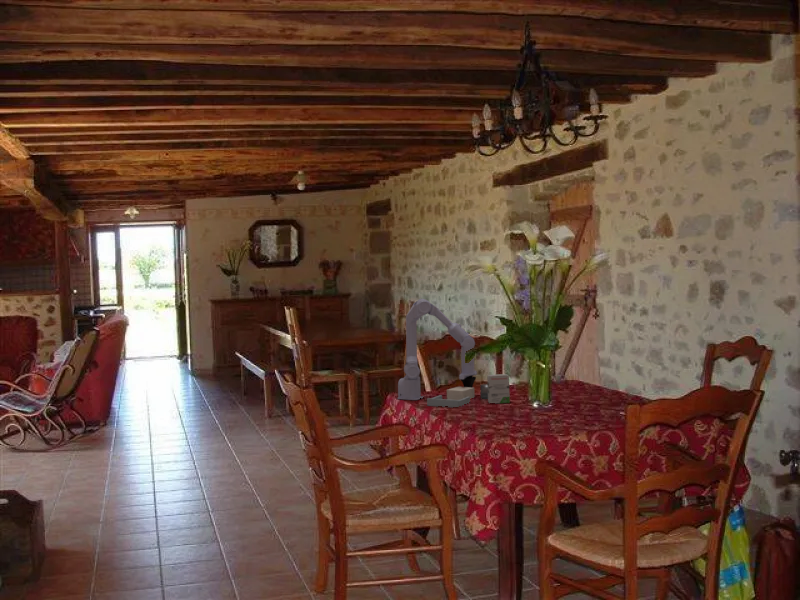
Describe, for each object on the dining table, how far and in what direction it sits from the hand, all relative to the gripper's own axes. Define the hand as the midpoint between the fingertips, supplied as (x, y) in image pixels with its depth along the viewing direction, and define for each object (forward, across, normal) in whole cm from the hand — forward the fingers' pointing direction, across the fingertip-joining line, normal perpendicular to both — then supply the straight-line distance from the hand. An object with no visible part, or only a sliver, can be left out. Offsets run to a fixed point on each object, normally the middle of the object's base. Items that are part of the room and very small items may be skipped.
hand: (468, 393), depth 388 cm
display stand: (+1, -20, 0) cm, 20 cm away
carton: (+2, -8, 0) cm, 8 cm away
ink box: (+2, -9, -18) cm, 20 cm away
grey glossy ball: (+1, -2, -10) cm, 10 cm away
